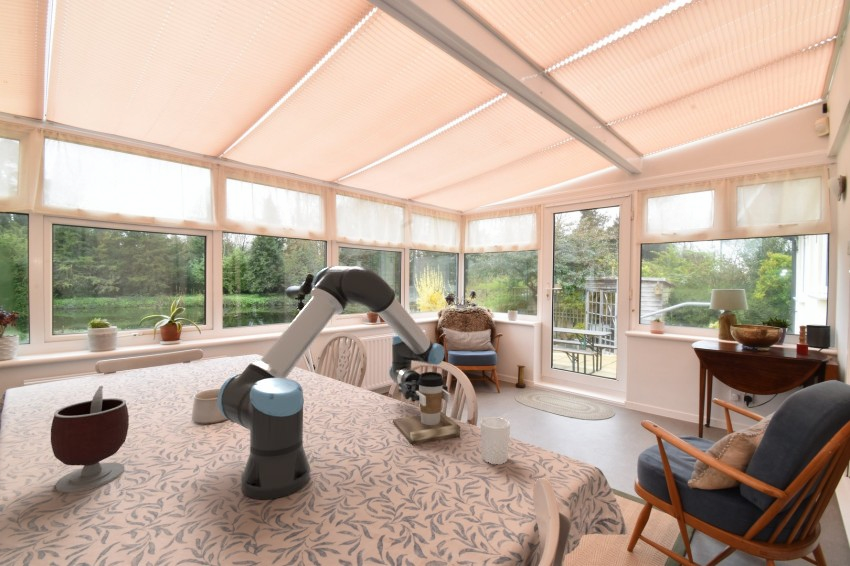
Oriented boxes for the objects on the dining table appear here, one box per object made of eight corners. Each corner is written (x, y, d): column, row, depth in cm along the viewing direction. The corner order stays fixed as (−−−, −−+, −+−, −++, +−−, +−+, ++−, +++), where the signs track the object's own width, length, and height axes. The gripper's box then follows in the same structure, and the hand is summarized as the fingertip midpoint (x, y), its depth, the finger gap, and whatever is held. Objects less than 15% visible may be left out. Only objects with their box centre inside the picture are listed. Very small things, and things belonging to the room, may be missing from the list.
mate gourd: (122, 484, 86) (122, 398, 86) (39, 501, 79) (39, 408, 79) (134, 456, 100) (134, 382, 100) (65, 468, 93) (65, 389, 93)
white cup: (512, 466, 97) (512, 428, 97) (482, 465, 97) (482, 427, 97) (506, 452, 105) (506, 417, 105) (478, 451, 105) (478, 416, 105)
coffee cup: (444, 417, 122) (444, 372, 122) (442, 427, 114) (443, 379, 114) (418, 416, 123) (419, 371, 123) (415, 426, 115) (416, 378, 114)
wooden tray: (412, 445, 108) (412, 434, 108) (392, 422, 125) (392, 413, 125) (460, 436, 115) (460, 426, 115) (435, 416, 131) (435, 407, 131)
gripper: (436, 387, 139) (466, 407, 118) (383, 394, 131) (405, 416, 110) (436, 368, 139) (466, 384, 118) (383, 373, 131) (406, 391, 110)
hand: (437, 399), depth 114 cm, fingers closed on coffee cup, 8 cm apart
